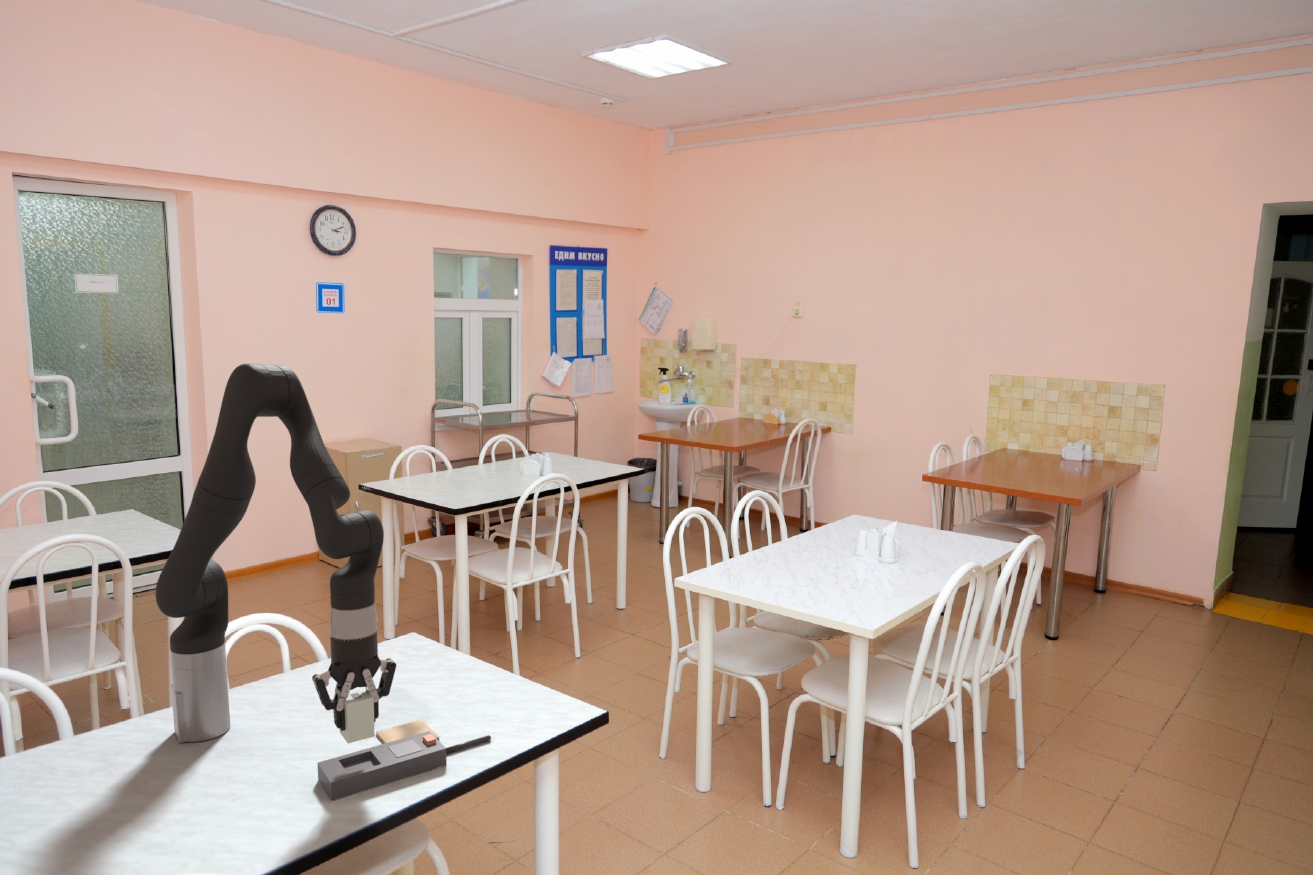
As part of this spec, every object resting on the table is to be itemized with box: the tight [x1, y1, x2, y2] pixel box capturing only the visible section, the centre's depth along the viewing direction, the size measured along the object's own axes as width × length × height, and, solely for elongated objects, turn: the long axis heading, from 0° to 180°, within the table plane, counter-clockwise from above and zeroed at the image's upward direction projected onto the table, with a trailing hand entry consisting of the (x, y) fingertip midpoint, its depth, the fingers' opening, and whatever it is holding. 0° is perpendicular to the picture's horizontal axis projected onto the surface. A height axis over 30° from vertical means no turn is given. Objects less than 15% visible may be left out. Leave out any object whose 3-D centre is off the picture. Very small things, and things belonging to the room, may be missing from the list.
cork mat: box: [375, 719, 440, 744], centre depth 165 cm, size 9×9×1 cm
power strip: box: [317, 731, 492, 802], centre depth 155 cm, size 30×8×4 cm, turn 126°
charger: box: [339, 687, 376, 744], centre depth 148 cm, size 4×4×7 cm
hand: (356, 724), depth 148 cm, fingers closed on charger, 4 cm apart
